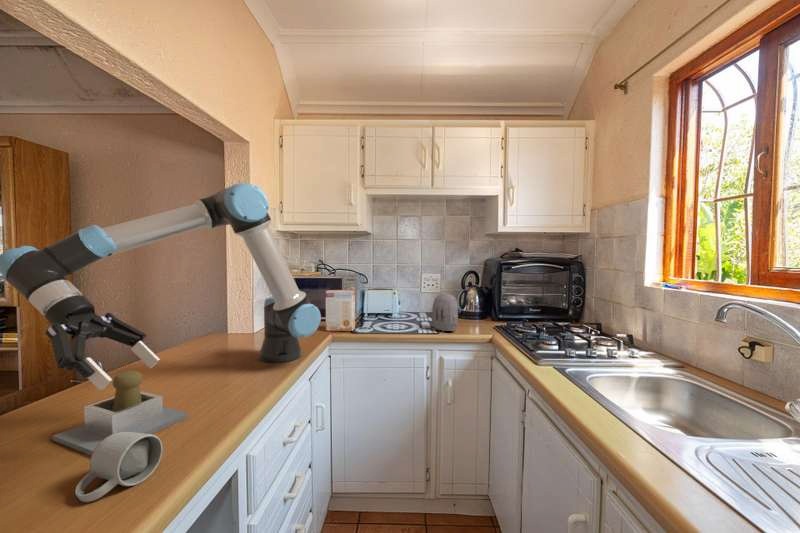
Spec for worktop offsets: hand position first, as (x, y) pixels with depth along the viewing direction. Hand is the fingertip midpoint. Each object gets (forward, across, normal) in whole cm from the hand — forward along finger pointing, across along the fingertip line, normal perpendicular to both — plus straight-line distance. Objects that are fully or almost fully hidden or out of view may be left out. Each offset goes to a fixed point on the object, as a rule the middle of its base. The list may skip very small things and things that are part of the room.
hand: (133, 373), depth 76 cm
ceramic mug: (+17, +18, -1) cm, 25 cm away
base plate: (+7, 0, -10) cm, 12 cm away
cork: (+6, -1, -10) cm, 12 cm away
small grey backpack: (+66, -101, +49) cm, 130 cm away
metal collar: (+7, 0, -10) cm, 12 cm away
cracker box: (+28, -100, +11) cm, 105 cm away
